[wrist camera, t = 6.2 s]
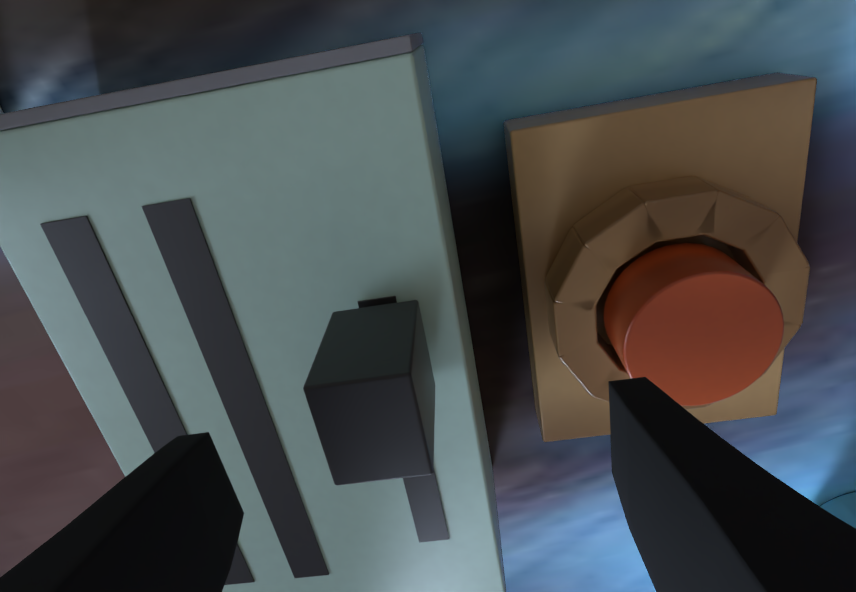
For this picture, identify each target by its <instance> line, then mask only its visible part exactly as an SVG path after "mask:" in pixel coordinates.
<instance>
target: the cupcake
mask: <svg viewBox="0 0 856 592" xmlns="http://www.w3.org/2000/svg"><path fill="white" fill-rule="evenodd" d="M820 507H821V508H823V509H824V510H826V511H828V512H829V513H831V514H832V515H834V516H836V517H837V518H839V519H841V520H842V521H844V522H846V523H847V524H849V525H851V526H852V527H854V528H856V492H853V493H849V494H845V495H842V496H839V497H837V498H834V499H832V500H830V501H828V502H826V503H824V504H823V505H821V506H820Z"/></svg>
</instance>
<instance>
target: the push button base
mask: <svg viewBox="0 0 856 592" xmlns="http://www.w3.org/2000/svg"><path fill="white" fill-rule="evenodd" d="M816 84H817V79H816V78H814V77H807V76H799V75H792V74H784V73H772V74H766V75H761V76H755V77H749V78H744V79H738V80H732V81H727V82H721V83H715V84H710V85H704V86H698V87H692V88H687V89H681V90H675V91H670V92H664V93H658V94H653V95H647V96H641V97H636V98H630V99H624V100H619V101H613V102H607V103H601V104H596V105H590V106H584V107H579V108H573V109H567V110H562V111H556V112H550V113H545V114H539V115H533V116H527V117H522V118H516V119H510V120H505V121H504V123H503V125H504V134H505V143H506V151H507V160H508V169H509V178H510V187H511V196H512V205H513V214H514V223H515V232H516V241H517V250H518V259H519V267H520V276H521V285H522V294H523V303H524V312H525V321H526V330H527V339H528V348H529V357H530V366H531V375H532V384H533V392H534V401H535V410H536V414H537V418H538V423H539V427H540V431H541V435H542V439H543V441H544V442H549V441H558V440H566V439H575V438H583V437H592V436H600V435H609V434H611V433H610V409H609V384H608V381H615V380H623V379H631V378H630V377H629V375H628V373H627V372H626V370H625V368H624V366H623V364H622V362H621V360H620V358H619V356H618V355H617V353H616V351H615V349H614V347H613V345H612V343H611V341H610V339H609V337H608V335H607V333H606V329H605V326H604V307H605V302H606V299H607V296H608V293H609V291H610V289H611V287H612V285H613V283H614V282H615V280H616V279H617V277H618V276H619V275H620V274H621V273H622V272H623V270H624V269H626V268H627V267H628V266H629V265H630V264H631V263H632V262H634V261H635V260H636V259H638V258H639V257H641V256H643V255H644V254H646V253H648V252H650V251H653V250H655V249H657V248H661V247H664V246H668V245H672V244H680V243H696V244H703V245H707V246H710V247H713V248H716V249H718V250H720V251H722V252H723V253H725V254H726V255H728V256H729V257H730V258H732V259H733V260H734V261H735V262H737V263H738V264H739V265H740V266H742V267H743V268H744V269H745V270H747V271H748V272H749V273H750V274H752V275H753V276H754V277H755V278H757V279H758V280H759V281H760V282H762V283H763V284H764V285H765V286H766V287H767V288H768V289H770V290H771V292H772V293H773V294H774V295H775V297H776V298H777V300H778V302H779V304H780V306H781V310H782V313H783V319H784V334H783V339H782V343H781V346H780V349H779V351H778V353H777V355H776V357H775V359H774V360H773V362H772V363H771V365H770V366H769V368H768V369H767V370H766V371H765V372H764V373H763V374H762V375H761V376H760V377H759V378H758V379H757V380H756V381H755V382H754V383H752V384H751V385H750V386H748V387H747V388H745V389H744V390H742V391H741V392H739V393H737V394H735V395H733V396H731V397H729V398H726V399H723V400H721V401H718V402H714V403H710V404H705V405H697V406H682V407H683V408H684V409H686V410H687V411H688V412H689V413H691V414H692V415H693V416H694V417H696V418H697V419H698V420H699V421H701V422H702V423H711V422H720V421H728V420H737V419H745V418H754V417H762V416H771V415H776V414H777V406H778V397H779V389H780V381H781V373H782V364H783V356H784V348H785V347H786V345H787V344H788V343H789V341H790V340H791V339H792V337H793V336H794V335H795V334H796V332H797V331H798V330H799V328H800V327H801V324H802V323H803V316H804V309H805V302H806V294H807V287H808V279H809V272H810V266H809V262H808V261H807V259H806V257H805V255H804V254H803V252H802V250H801V249H800V247H799V245H798V243H797V241H798V232H799V224H800V216H801V208H802V199H803V191H804V183H805V175H806V166H807V158H808V150H809V142H810V133H811V125H812V117H813V109H814V100H815V92H816Z"/></svg>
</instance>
